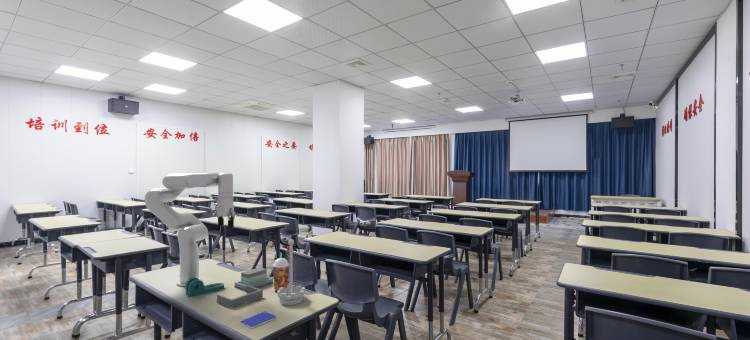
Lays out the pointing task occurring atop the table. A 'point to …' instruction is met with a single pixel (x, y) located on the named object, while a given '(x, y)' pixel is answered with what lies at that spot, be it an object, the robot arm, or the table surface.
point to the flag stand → (291, 284)
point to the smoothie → (280, 273)
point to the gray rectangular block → (253, 276)
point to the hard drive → (257, 319)
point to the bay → (241, 297)
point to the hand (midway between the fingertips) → (225, 226)
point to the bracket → (201, 287)
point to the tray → (256, 285)
